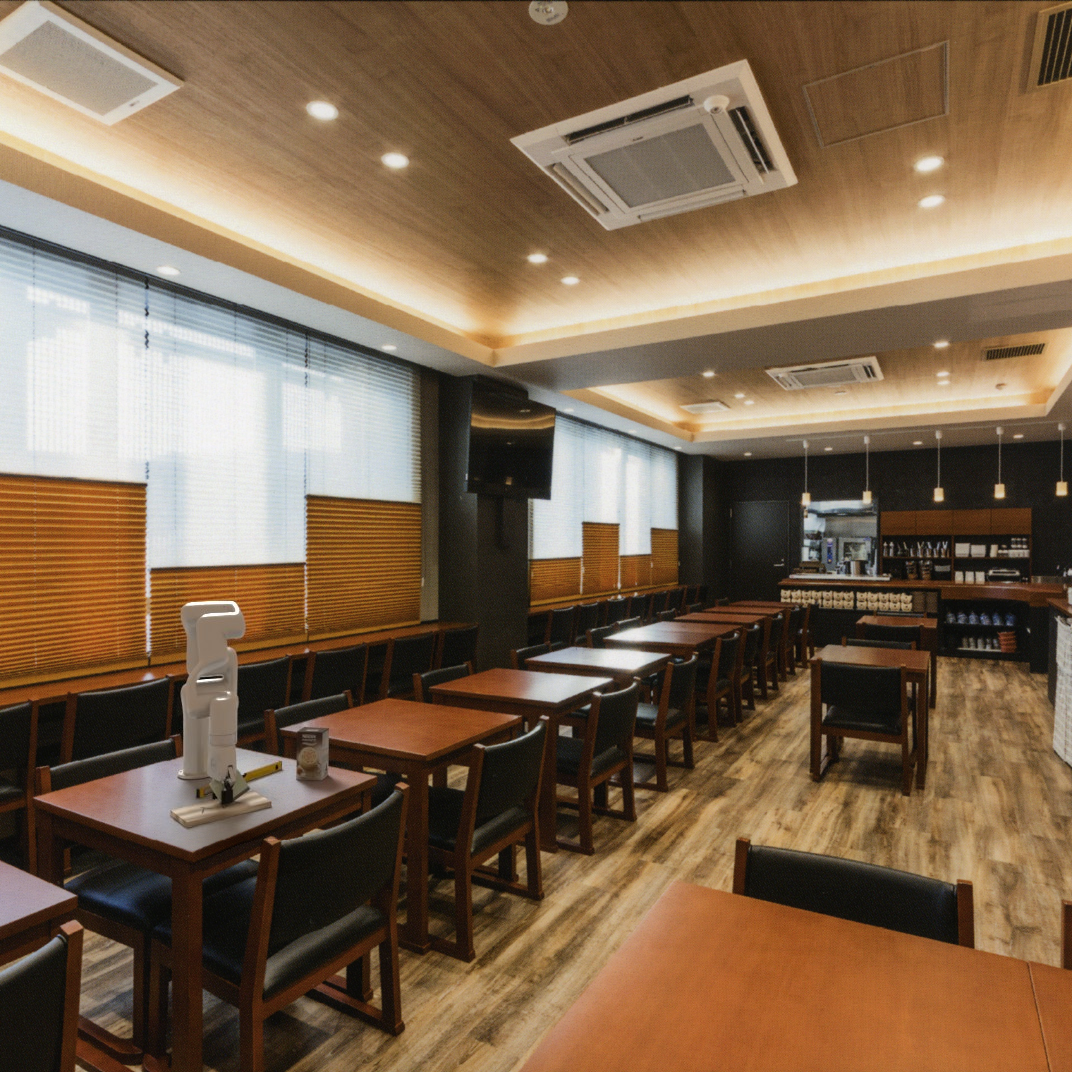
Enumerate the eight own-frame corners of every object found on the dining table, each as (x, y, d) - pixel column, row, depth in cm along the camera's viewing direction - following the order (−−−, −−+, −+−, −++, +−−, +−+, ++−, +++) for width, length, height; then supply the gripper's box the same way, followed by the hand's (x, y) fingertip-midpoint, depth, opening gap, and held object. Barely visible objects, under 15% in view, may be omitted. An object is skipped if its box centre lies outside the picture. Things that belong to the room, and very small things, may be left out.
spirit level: (279, 769, 256) (279, 760, 256) (282, 769, 255) (282, 761, 255) (196, 798, 226) (196, 788, 226) (199, 799, 225) (199, 789, 225)
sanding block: (220, 802, 217) (208, 784, 215) (245, 784, 221) (233, 766, 219) (225, 807, 213) (213, 788, 211) (250, 789, 218) (238, 770, 215)
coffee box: (295, 779, 243) (295, 731, 243) (303, 774, 249) (303, 726, 250) (321, 780, 242) (322, 732, 242) (329, 774, 249) (329, 727, 249)
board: (170, 815, 211) (170, 809, 211) (252, 795, 228) (252, 790, 228) (186, 827, 201) (186, 822, 201) (271, 806, 218) (271, 801, 218)
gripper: (198, 735, 219) (197, 797, 218) (222, 746, 207) (222, 811, 206) (223, 731, 224) (223, 791, 224) (248, 741, 212) (248, 805, 212)
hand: (222, 800), depth 215 cm, fingers closed on sanding block, 5 cm apart
